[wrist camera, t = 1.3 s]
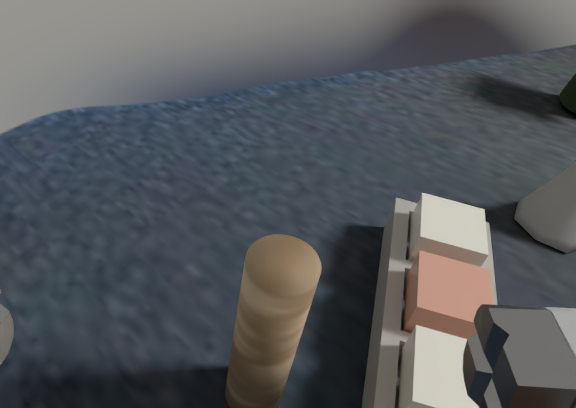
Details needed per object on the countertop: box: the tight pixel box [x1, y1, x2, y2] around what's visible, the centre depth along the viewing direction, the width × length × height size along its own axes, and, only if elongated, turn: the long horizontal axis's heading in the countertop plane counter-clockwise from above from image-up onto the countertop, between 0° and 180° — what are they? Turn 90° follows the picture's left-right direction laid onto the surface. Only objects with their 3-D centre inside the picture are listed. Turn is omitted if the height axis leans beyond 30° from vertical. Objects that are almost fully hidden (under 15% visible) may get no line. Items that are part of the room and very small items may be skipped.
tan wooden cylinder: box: [225, 234, 321, 408], centre depth 28 cm, size 4×4×13 cm
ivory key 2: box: [398, 325, 479, 408], centre depth 30 cm, size 5×5×3 cm
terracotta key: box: [403, 250, 493, 339], centre depth 35 cm, size 5×5×3 cm
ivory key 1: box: [408, 193, 489, 267], centre depth 39 cm, size 5×5×3 cm
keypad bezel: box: [362, 198, 497, 408], centre depth 37 cm, size 8×21×4 cm, turn 167°
